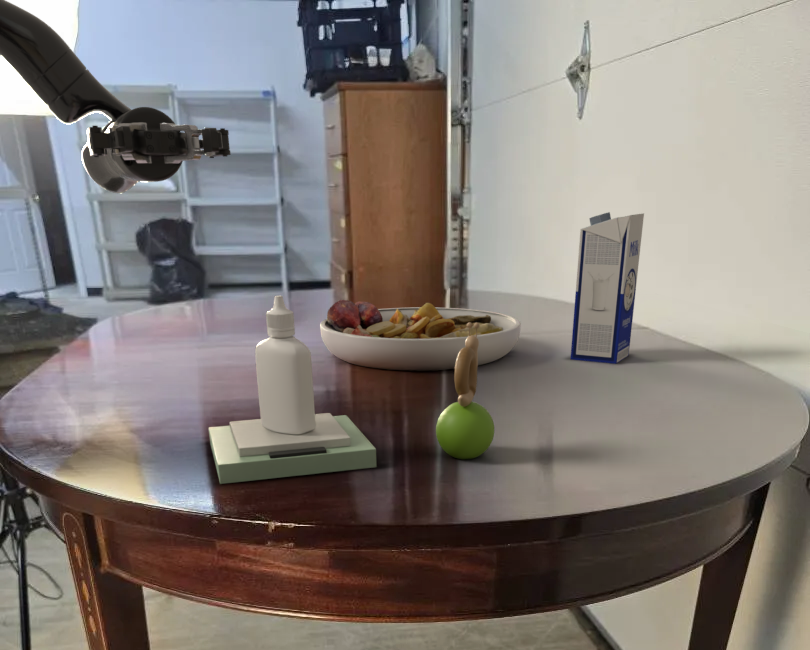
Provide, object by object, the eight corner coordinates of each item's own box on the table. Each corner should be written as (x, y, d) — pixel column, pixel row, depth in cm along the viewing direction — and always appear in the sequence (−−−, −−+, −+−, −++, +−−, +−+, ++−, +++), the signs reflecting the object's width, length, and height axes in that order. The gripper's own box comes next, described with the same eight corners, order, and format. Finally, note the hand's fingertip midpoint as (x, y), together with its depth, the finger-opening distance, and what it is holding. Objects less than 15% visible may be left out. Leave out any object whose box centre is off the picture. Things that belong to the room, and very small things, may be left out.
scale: (220, 486, 67) (216, 455, 66) (210, 446, 77) (207, 419, 76) (376, 469, 70) (376, 440, 69) (347, 433, 81) (346, 407, 80)
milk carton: (615, 365, 110) (631, 213, 101) (569, 361, 113) (581, 212, 104) (628, 356, 115) (644, 211, 107) (584, 353, 118) (597, 211, 110)
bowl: (522, 339, 129) (525, 290, 126) (514, 379, 102) (517, 318, 99) (348, 335, 134) (346, 288, 131) (296, 373, 107) (292, 315, 104)
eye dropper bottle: (302, 418, 76) (293, 291, 71) (319, 433, 71) (311, 298, 66) (258, 423, 74) (246, 294, 69) (273, 439, 70) (261, 301, 65)
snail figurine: (497, 447, 76) (503, 322, 71) (489, 469, 70) (494, 334, 65) (443, 444, 77) (444, 321, 72) (430, 465, 71) (431, 332, 66)
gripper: (72, 108, 86) (90, 92, 73) (200, 112, 92) (238, 98, 78) (85, 182, 89) (104, 180, 76) (208, 181, 95) (245, 180, 81)
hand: (172, 139), depth 77 cm, fingers open, 8 cm apart
